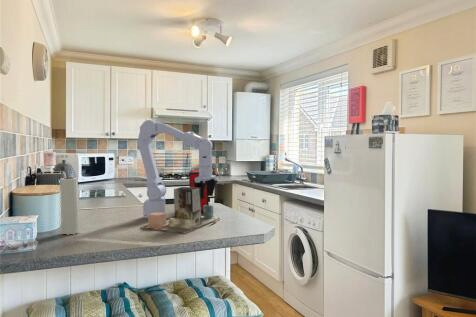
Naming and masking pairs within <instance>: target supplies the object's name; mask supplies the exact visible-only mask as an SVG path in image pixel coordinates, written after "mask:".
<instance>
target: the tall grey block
mask: <svg viewBox="0 0 476 317" xmlns="http://www.w3.org/2000/svg"><path fill="white" fill-rule="evenodd" d="M78 182H79V181H78V177H63V178H60V179H59V186H60V187H59V188H60V209H61V210H60V212H61V213H60V215H61V234H62V235H63V234H67V235H66V236H70V235H69V234H73V235H77V234H79V233H80V213H79V212H80V210H79V207H80V206H79V183H78ZM76 233H77V234H76Z"/></svg>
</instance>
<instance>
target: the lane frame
mask: <svg viewBox="0 0 476 317" xmlns="http://www.w3.org/2000/svg"><path fill="white" fill-rule="evenodd" d="M169 218H175V215H173V216H170V217H166V222H169ZM212 220H213V221H212ZM212 220H210V221H211V222H209V221H207V222H208V223H207V222H205V223H206V224H204V223H202V224H203V225H201V226H198V227H196V228H194V229H189V230H187V231H180V230H172V229H171V230H170V229H165V228H168V227H169V223H168V224H167V223H166V225H165V226H162V227H159V228H150V227H148V224H146V225H143V226H139V229H142V230H150V231H159V232H164V233H172V234H173V233H174V234H182V235H187V234H189V233H192V232H194V231H196V230H198V229H202V228H203V227H206V226H207V228H209V227H211V226H213V225H216V223H217V222H216V221H217V220H214V219H212ZM208 225H209V226H208Z"/></svg>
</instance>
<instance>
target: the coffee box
mask: <svg viewBox="0 0 476 317" xmlns="http://www.w3.org/2000/svg"><path fill="white" fill-rule="evenodd" d="M173 206H174V208H173V210H174V216H175V218H177V219H187V220H195V227H197V226H199V225H202V224H203V223H202V217H201V216H202V214H201V188H198V187H190V186H180V187H177V188H173Z"/></svg>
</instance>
